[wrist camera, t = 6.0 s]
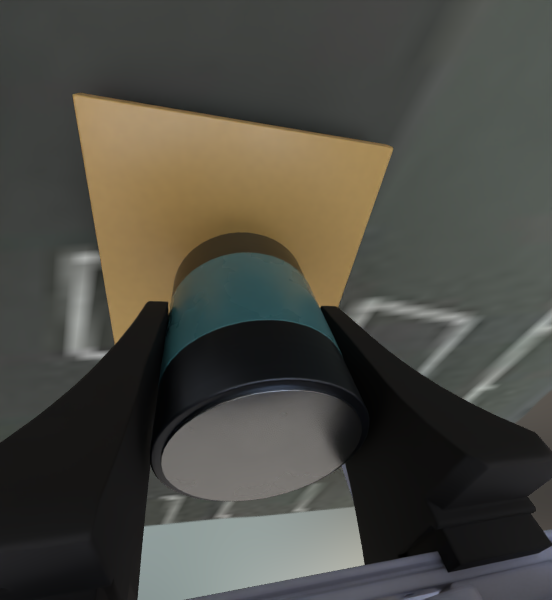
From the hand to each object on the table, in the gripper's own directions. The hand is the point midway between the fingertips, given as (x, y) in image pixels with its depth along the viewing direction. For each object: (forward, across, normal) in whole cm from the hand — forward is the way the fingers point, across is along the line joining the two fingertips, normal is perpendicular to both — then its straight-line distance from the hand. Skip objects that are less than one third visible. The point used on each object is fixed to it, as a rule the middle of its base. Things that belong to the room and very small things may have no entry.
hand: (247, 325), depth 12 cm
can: (+2, 0, 0) cm, 2 cm away
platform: (+7, 0, 0) cm, 7 cm away
